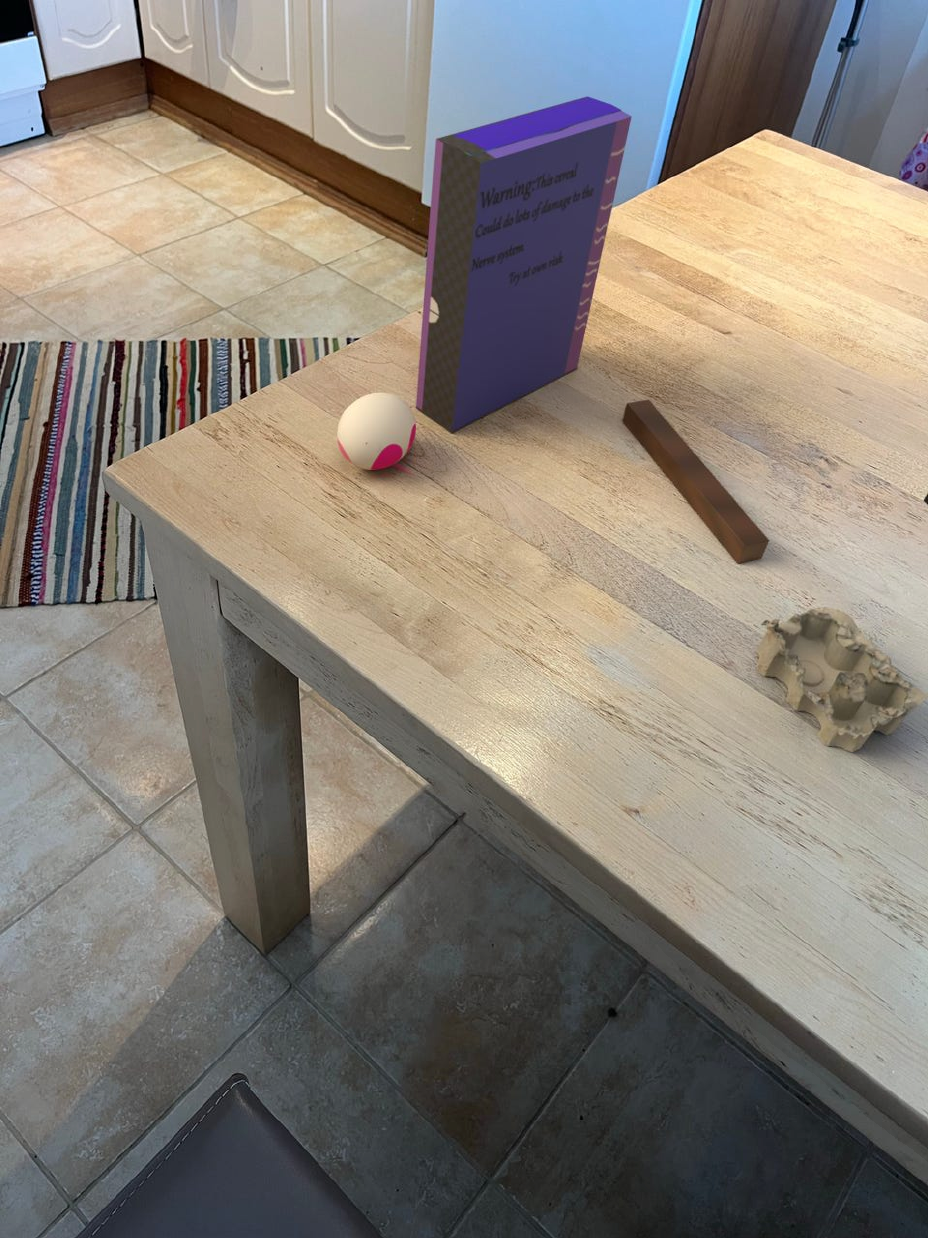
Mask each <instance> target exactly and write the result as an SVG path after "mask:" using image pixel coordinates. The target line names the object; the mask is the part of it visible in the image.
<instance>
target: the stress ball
mask: <svg viewBox="0 0 928 1238" xmlns="http://www.w3.org/2000/svg"><path fill="white" fill-rule="evenodd" d="M412 408H413V405H411V406H410V405H409V404H408V403H407V402H406V401H405V400H404V399H403V398H401V397H399V396H397V395H395V394H393V393H389V392H371V393H367V394H365V395H363V396H361V397H359V398H358V399H356V400H354V401H353V402H352V403H351V404H350V405H349V406H348V407H347V408H346V409H345V411H344V412H343V413H342V415H341V417H340V420H339V422H338V426H337V431H336V438H337V444H338V447H339V450H340V452H341V454H342V455H343V456H344V458H345V459H346V461H348V462H349V463H350V464H352V465H353V466H355V467H357V468H360V469H362V470H367V471H376V470H383V469H386V468H389V467H392V466H394V467H396V468H398V469H400V470H402V471H405V472H407V473H408V474H411V475H413V473H412V472H410V471H408V470H407V469H405V468H403V467H402V466H401V465H399V464H397V463H398V462H399V461H400V460H401V459H403V458H404V457H405V456H406V455H407V454H408V452H409V450H410V449H411V448H412V446H413V443H414V441H415V439H416V433H417V421H416V416H415V414H414V412H413V410H412Z"/></svg>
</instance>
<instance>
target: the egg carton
mask: <svg viewBox="0 0 928 1238" xmlns="http://www.w3.org/2000/svg"><path fill="white" fill-rule="evenodd" d="M760 626H766V631H765V634H764V635H763V637H762V638H761V641H760V643H759V645H757V648H756V654H757V656H758V660H757V663H756V666H755V668H756V670H757V671H758V673H759V674H760V675H762V676H763V677H770V678H777V679H778V680H779V681H781V682H782V683H783V684H785V686H786V687H787V690H788V694H787V695H786V698H785V702H786V703H787V704H789V705H790V706H791V707H792V709H793V710H795V711H797V712H806V713H808V714H811V715H812V716H814V717H815V718H816V719H817V720H818V723H819V724H820V725H819V726H820V730H819V731H818V733H817V734H816V736H817V738H818V739H819V741H820V742H821V743H822V744H823V745H825V746H827V747H837V748H841V749H843V750H845V751H848V752H849V753H850V752H851V753H853V752H856V751H858V750H861V749H862V747H863V745H864V744H866V741H867V740H868V739H869V738H870V736H871V735H872V734H873V732H874V731H876V732H879V733H880V734H883V735H885V736H888V735H891V734H892V733H895V732H896V731H897V729H898V728H899V726H900V725H901V724H902V723H903V721H904V720H905V719H906V718H907V716H908V715H909V714H910V713H912V712H913V711H915V709H916V708H917V707H918V706H919V705H921V704H922V703H923V702H924V701H925V700H926V699H927V698H928V694H927V693H925V692H924V691H922V690H920V689H919V688H918V687H916V686H915V685H914V684H913V683H911V682H910V681H908V680H906V679H904V678H903V677H902V675H901V674H900V670H899V669H894V667H893V663H892V660H891V657H889V656H888V655H886V654H884V653H883V652H881V650H880V649H878V647H877V646H876V645H875V644H874V642H872V640H870V639H869V638H867V637H866V636H865V634H864V633H863V631H861V629H860V628H859V627H858V625H857V624H856V622H855V620H854V619H853V618H852V617H851V616H850V615H849V614H847V613H846V612H845V611H842V610H839V609H835V608H831V607H826V606H821V607H820V606H819V607H816V608H810V609H809V610H808V611H806V612H804V613H801V614H799V613H796V614H794V615H793V616H791V617H790V618H789V619H788V620H786V621H784V622H780V619H779V618H778V619H774V620H770V621H769V620H768V619H765V620H764V621H762V623H761V624H760Z"/></svg>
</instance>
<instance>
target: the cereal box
mask: <svg viewBox="0 0 928 1238" xmlns="http://www.w3.org/2000/svg"><path fill="white" fill-rule="evenodd" d="M631 121H632V115H630V114H628V113H626V112H625V111H623V110H622V109H620V108H618V107H617V106H615V105H613V104H611V103H608V102H605V101H602V100H599V99H596V98H594V97H591V96H587V95H586V96H583V97H580V98H577V99H573V100H569V101H566V102H563V103H558V104H555V105H552V106H548V107H545V108H541V109H537V110H533V111H531V112H530V111H529V112H527V113H523V114H519V115H516V116H513V117H509V118H506V119H501V120H498V121H495V122H490V123H487V124H484V125H480V126H476V127H473V128H469V129H465V130H463V131H460V132H459V131H458V132H456V133H452V134H448V135H443V136H441V137H437V138H435V143H434V144H435V146H434V160H433V170H432V171H433V172H432V187H431V198H430V210H429V211H430V213H429V224H428V225H429V226H428V227H429V228H428V239H427V240H428V241H427V254H426V267H425V280H424V293H423V307H422V320H421V331H420V332H421V335H420V347H419V360H418V371H417V372H418V373H417V374H418V375H417V385H416V388H417V389H416V401H415V410H417V411H419V412H420V413H422V414H423V415H425V416H426V417H428V418H429V419H430V420H432V422H434V423H436V424H437V425H439V426H440V427H442V428H443V429H444V430H446V431H447V432H449V433H450V434H454V433H456V432H458V431H460V430H461V429H464V428H466V427H467V426H470V425H472V424H473V423H475V422H478V421H479V420H481V419H484V418H485V417H487V416H489V415H491V414H493V413H495V412H497V411H498V410H501V409H503V408H504V407H507V406H508V405H510V404H512V403H514V402H516V401H518V400H519V399H522V398H524V397H526V396H527V395H530V394H532V393H534V392H535V391H538V390H540V389H541V388H544V387H545V386H547V385H549V384H551V383H553V382H555V381H557V380H559V379H561V378H563V377H565V376H567V375H569V374H571V373H573V372H575V371H577V369H578V366H579V361H580V356H581V352H582V348H583V343H584V338H585V334H586V330H587V325H588V320H589V316H590V311H591V306H592V301H593V297H594V292H595V288H596V282H597V278H598V273H599V270H600V265H601V259H602V256H603V252H604V246H605V242H606V237H607V233H608V228H609V224H610V223H609V222H610V218H611V214H612V209H613V204H614V200H615V195H616V190H617V187H618V181H619V177H620V172H621V169H622V164H623V163H622V162H623V159H624V154H625V149H626V144H627V140H628V135H629V131H630V127H631Z"/></svg>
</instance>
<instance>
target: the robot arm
mask: <svg viewBox="0 0 928 1238" xmlns="http://www.w3.org/2000/svg"><path fill="white" fill-rule="evenodd" d="M922 501H923V502H924V503H925V504H926V505H927V506H928V493H927V494H926V495H925V497H924V498H923V500H922Z"/></svg>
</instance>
